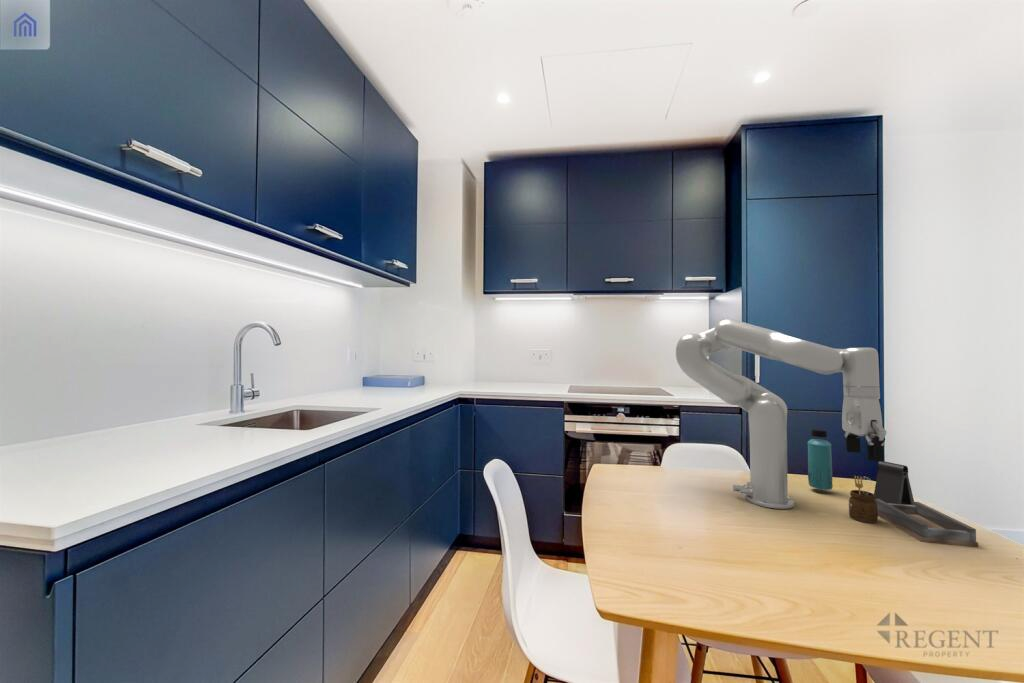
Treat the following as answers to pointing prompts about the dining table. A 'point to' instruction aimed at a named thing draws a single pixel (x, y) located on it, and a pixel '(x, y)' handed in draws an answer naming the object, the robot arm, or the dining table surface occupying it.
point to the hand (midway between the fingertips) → (863, 456)
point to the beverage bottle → (819, 461)
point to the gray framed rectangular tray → (927, 523)
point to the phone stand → (893, 484)
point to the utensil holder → (863, 504)
